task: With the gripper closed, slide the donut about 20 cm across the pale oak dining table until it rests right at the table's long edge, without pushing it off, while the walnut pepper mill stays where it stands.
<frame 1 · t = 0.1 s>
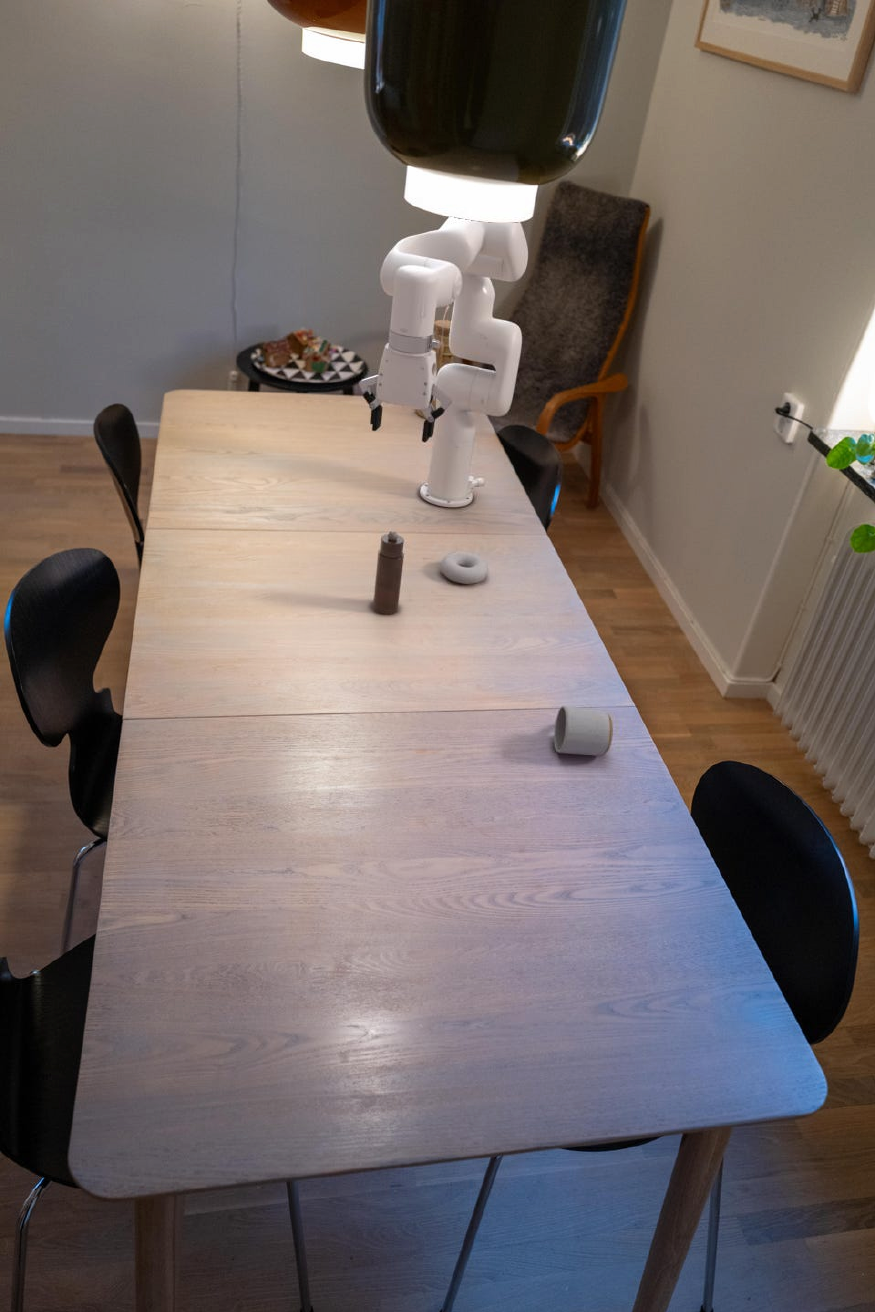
hand: (400, 434, 184), 31 cm above the table, tool pointing down, fingers open, 9 cm apart
donut: (463, 575, 207), on the table
ceramic mug: (575, 745, 164), on the table
pepper mill: (385, 608, 193), on the table
lantern: (434, 414, 284), on the table
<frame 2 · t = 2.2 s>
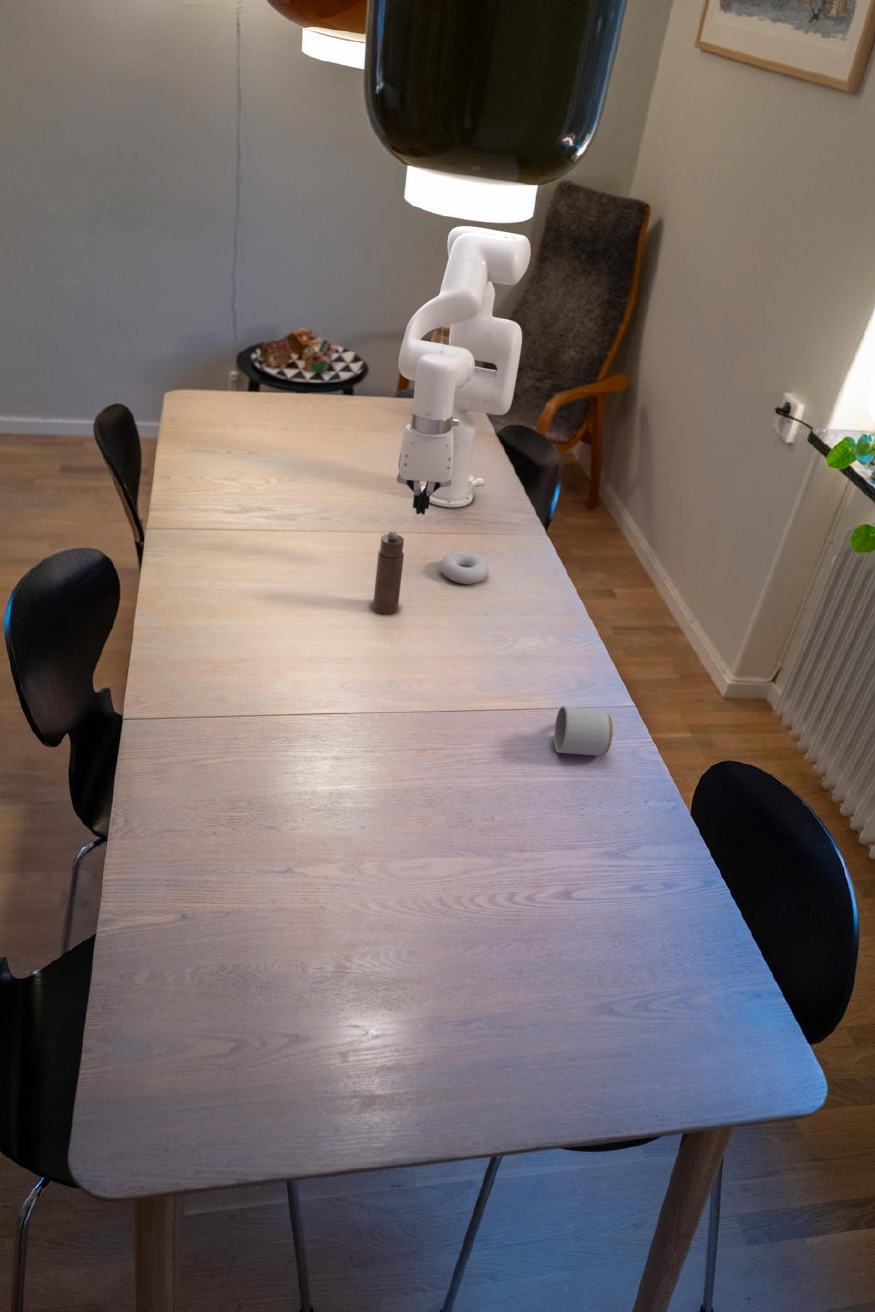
hand: (420, 511, 198), 14 cm above the table, tool pointing down, fingers closed
nothing on the table moved.
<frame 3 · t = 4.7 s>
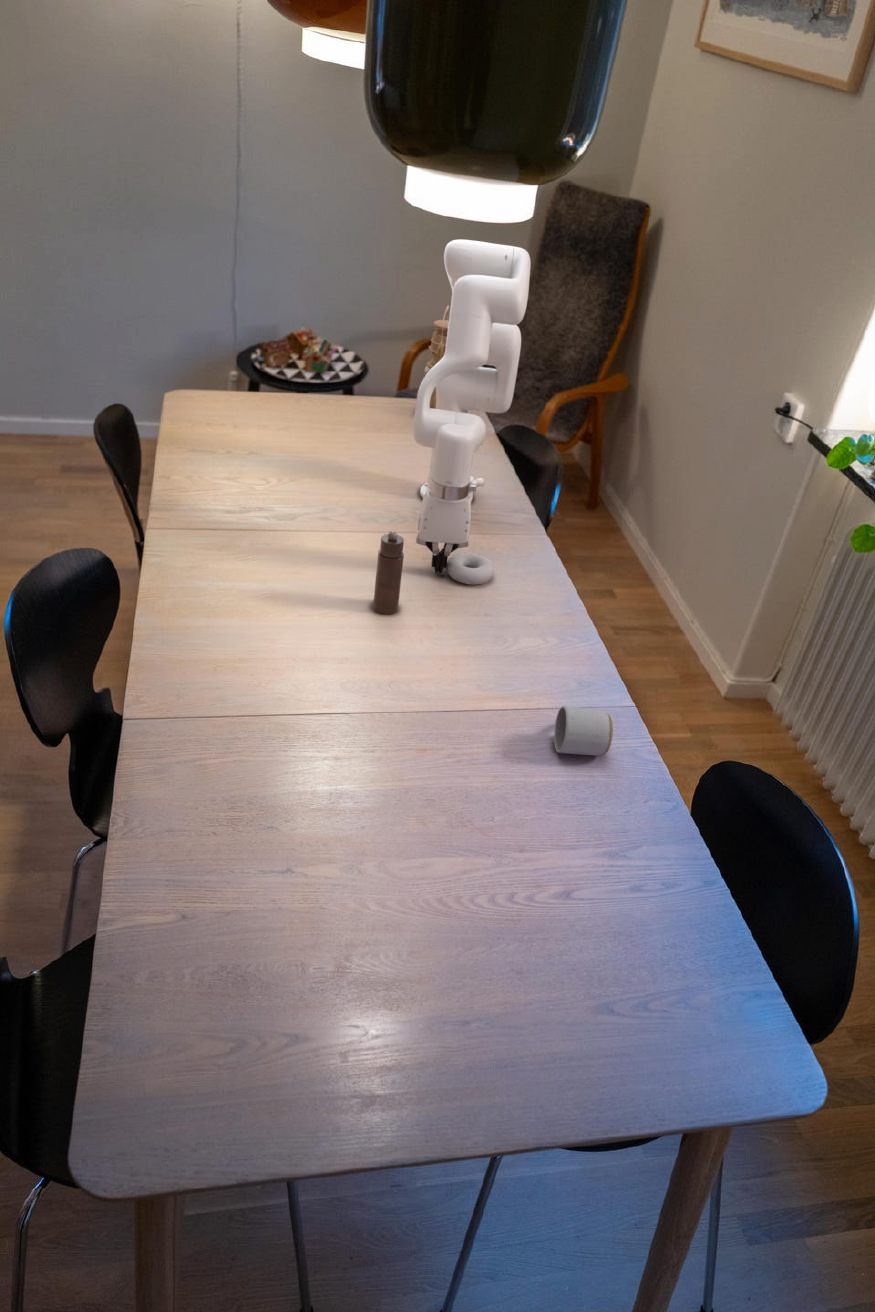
hand: (438, 569, 206), 1 cm above the table, tool pointing down, fingers closed
donut: (468, 576, 208), on the table, touching gripper
everything else where it was.
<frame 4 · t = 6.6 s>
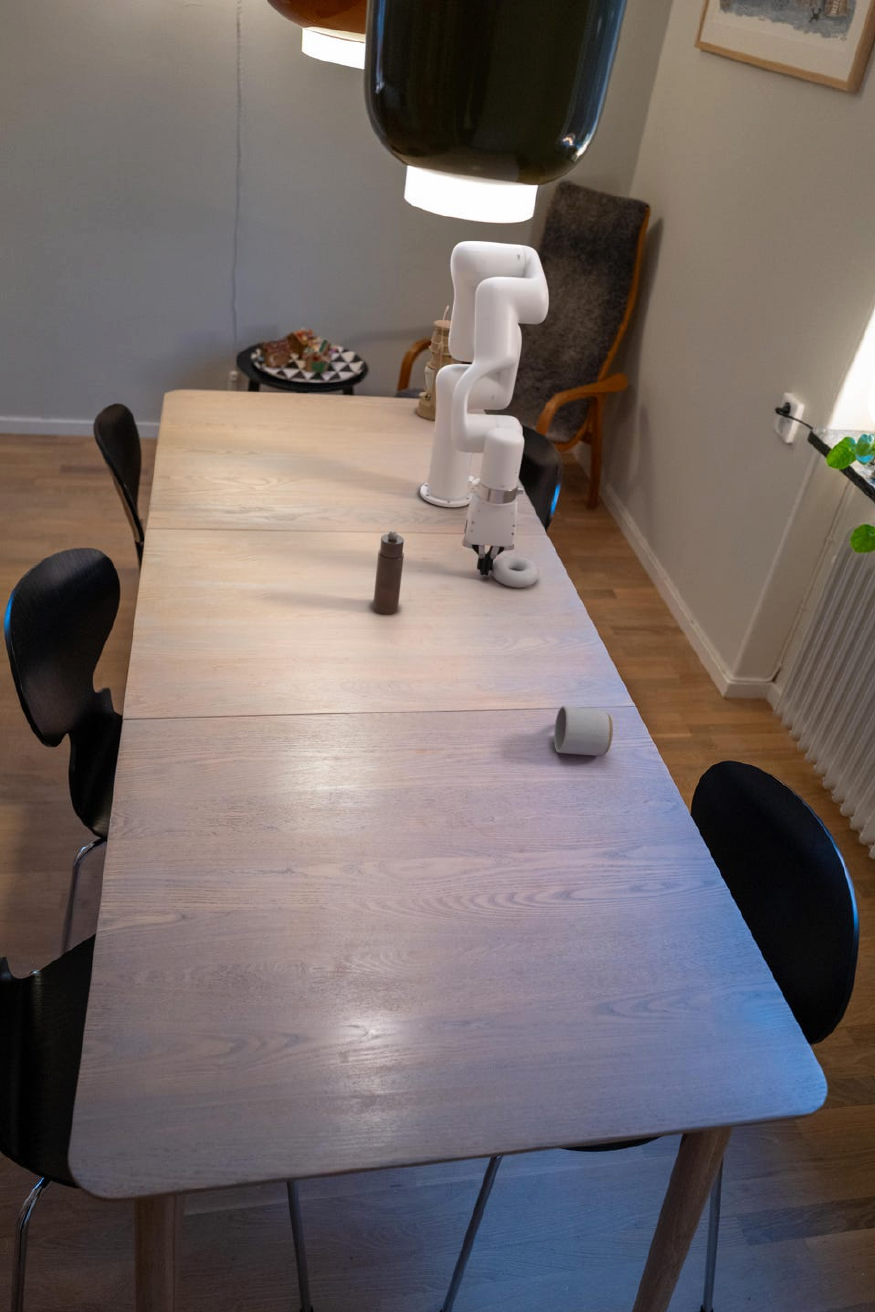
hand: (483, 572, 207), 1 cm above the table, tool pointing down, fingers closed
donut: (513, 579, 209), on the table, touching gripper
everything else where it was.
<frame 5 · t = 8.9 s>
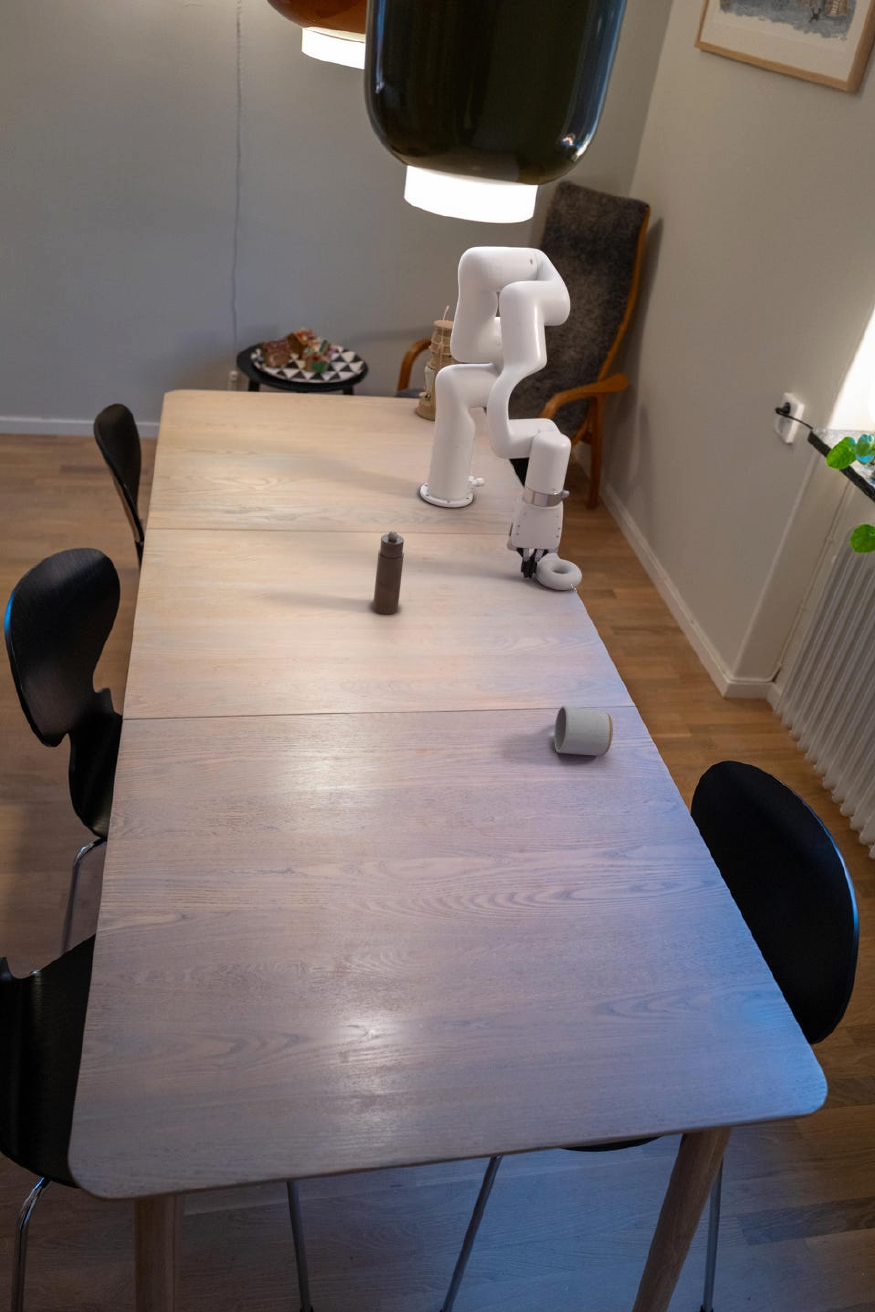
hand: (527, 575, 208), 1 cm above the table, tool pointing down, fingers closed
donut: (556, 581, 210), on the table, touching gripper
everything else where it was.
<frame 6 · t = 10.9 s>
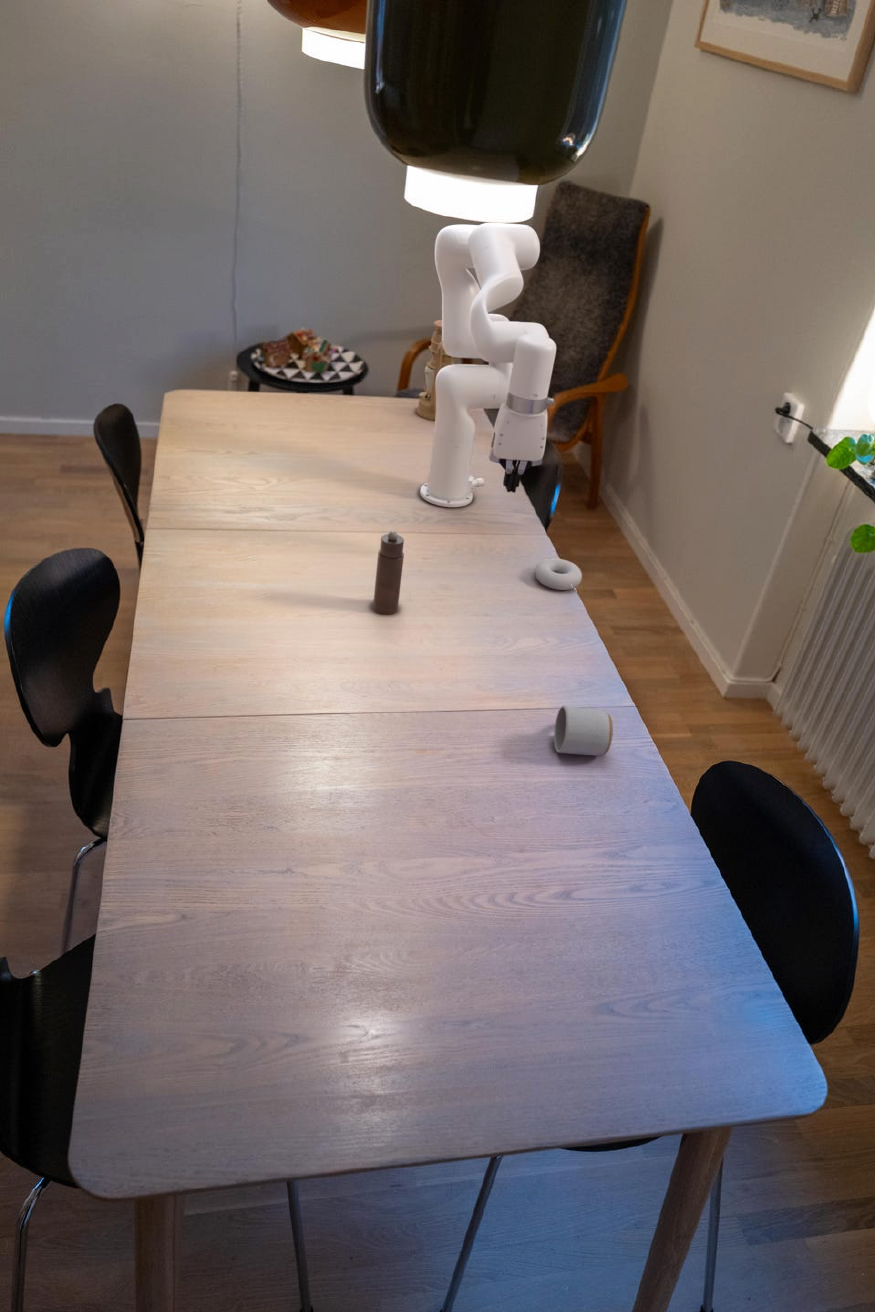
hand: (510, 489, 201), 18 cm above the table, tool pointing down, fingers closed
donut: (556, 581, 210), on the table
everything else where it was.
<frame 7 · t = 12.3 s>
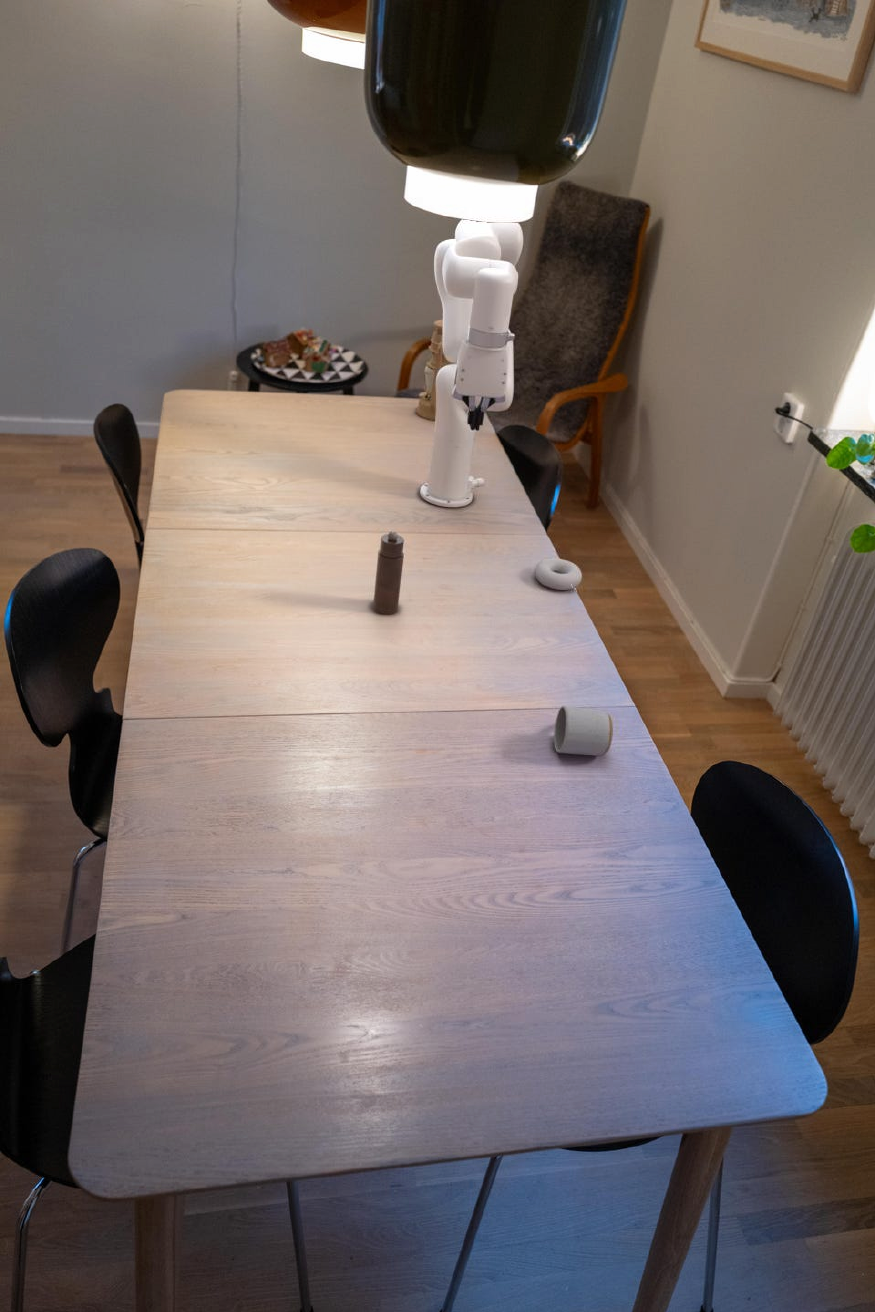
hand: (474, 427, 203), 27 cm above the table, tool pointing down, fingers closed
nothing on the table moved.
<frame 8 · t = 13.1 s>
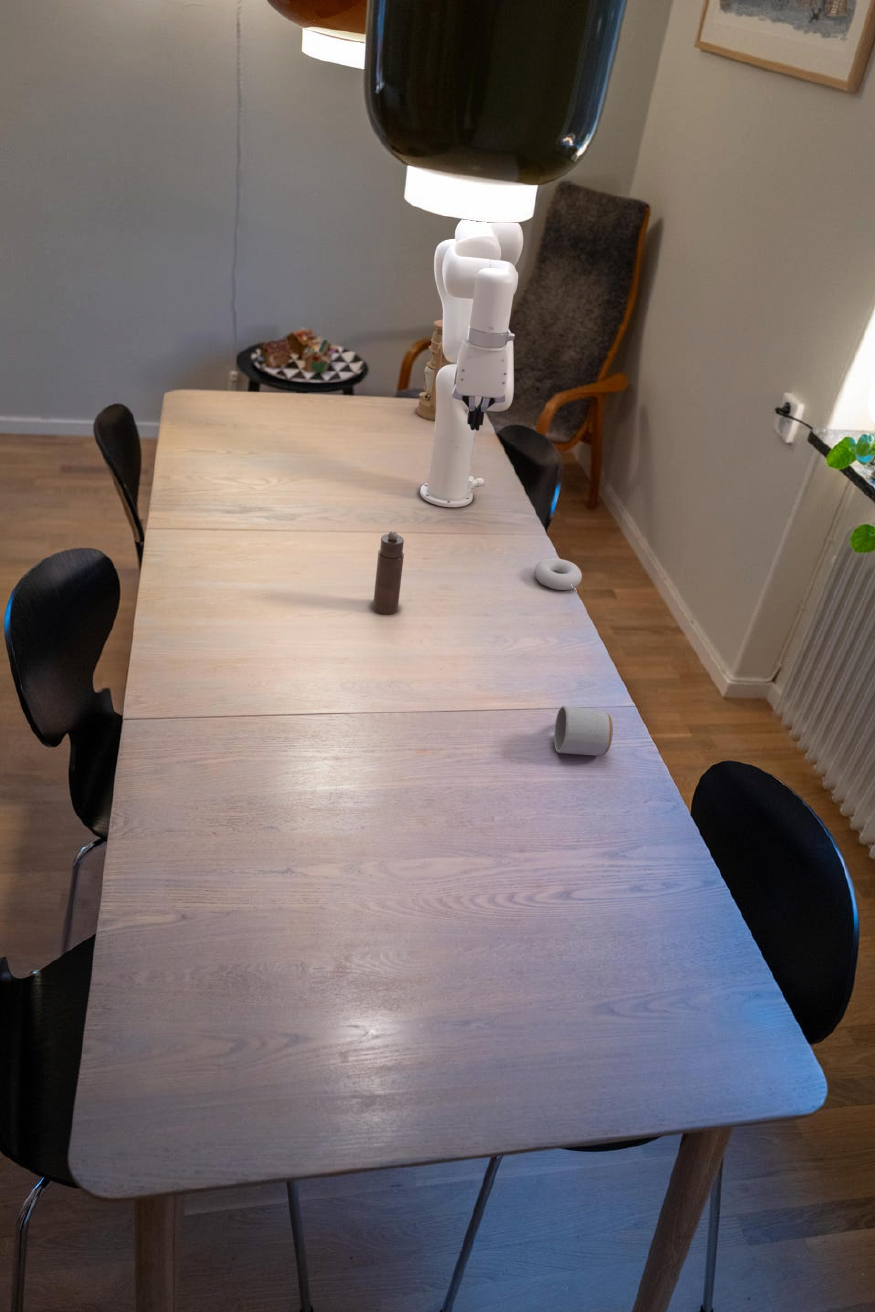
hand: (474, 427, 203), 27 cm above the table, tool pointing down, fingers closed
nothing on the table moved.
at the end: donut inside the target area (0.3 cm from its centre), on the table; donut touching table; donut moved 19.9 cm from its start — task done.
